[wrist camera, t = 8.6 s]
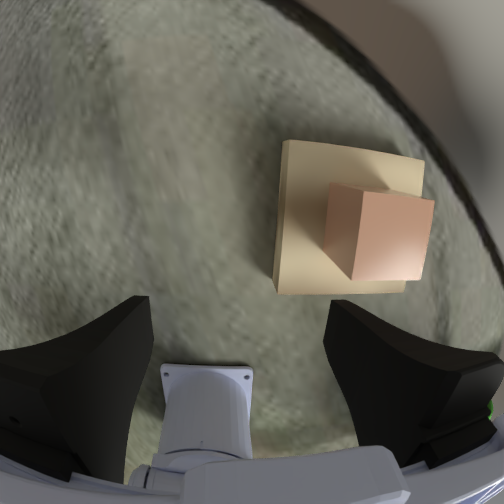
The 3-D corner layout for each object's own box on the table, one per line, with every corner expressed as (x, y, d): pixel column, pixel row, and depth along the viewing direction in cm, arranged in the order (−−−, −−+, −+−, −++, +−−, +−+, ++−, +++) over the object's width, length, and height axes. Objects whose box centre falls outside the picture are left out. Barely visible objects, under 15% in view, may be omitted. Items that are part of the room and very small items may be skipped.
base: (388, 280, 23) (403, 292, 21) (272, 279, 22) (277, 294, 20) (406, 159, 20) (424, 161, 18) (282, 141, 19) (289, 139, 17)
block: (381, 252, 20) (419, 279, 15) (322, 251, 19) (351, 280, 15) (390, 189, 18) (434, 200, 14) (329, 181, 18) (363, 191, 13)
